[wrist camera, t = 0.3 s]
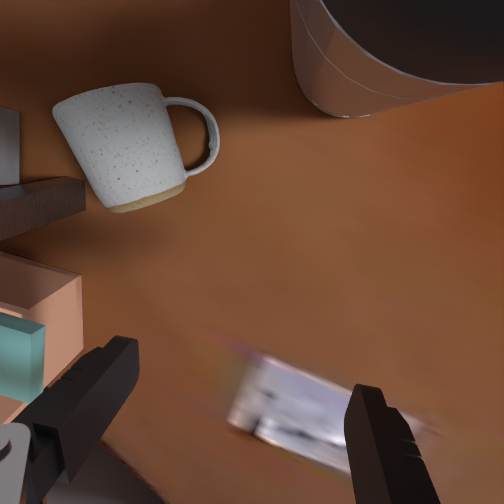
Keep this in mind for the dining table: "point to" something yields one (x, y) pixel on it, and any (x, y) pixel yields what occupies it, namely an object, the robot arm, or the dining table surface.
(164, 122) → the ceramic mug
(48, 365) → the cup
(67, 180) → the pivot stand
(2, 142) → the lever board
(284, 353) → the dining table surface
